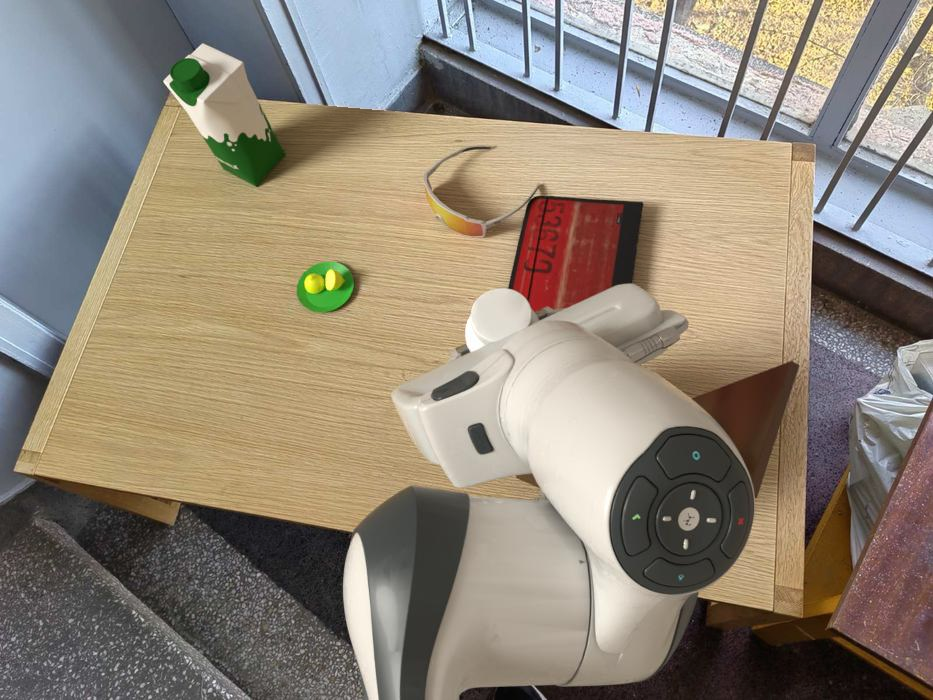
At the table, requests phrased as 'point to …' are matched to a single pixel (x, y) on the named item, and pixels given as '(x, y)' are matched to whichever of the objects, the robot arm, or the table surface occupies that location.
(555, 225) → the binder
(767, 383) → the chest lid
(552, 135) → the table surface
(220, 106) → the soya milk
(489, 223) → the sunglasses
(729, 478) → the robot arm
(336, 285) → the plate with lemons
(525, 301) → the pill bottle
